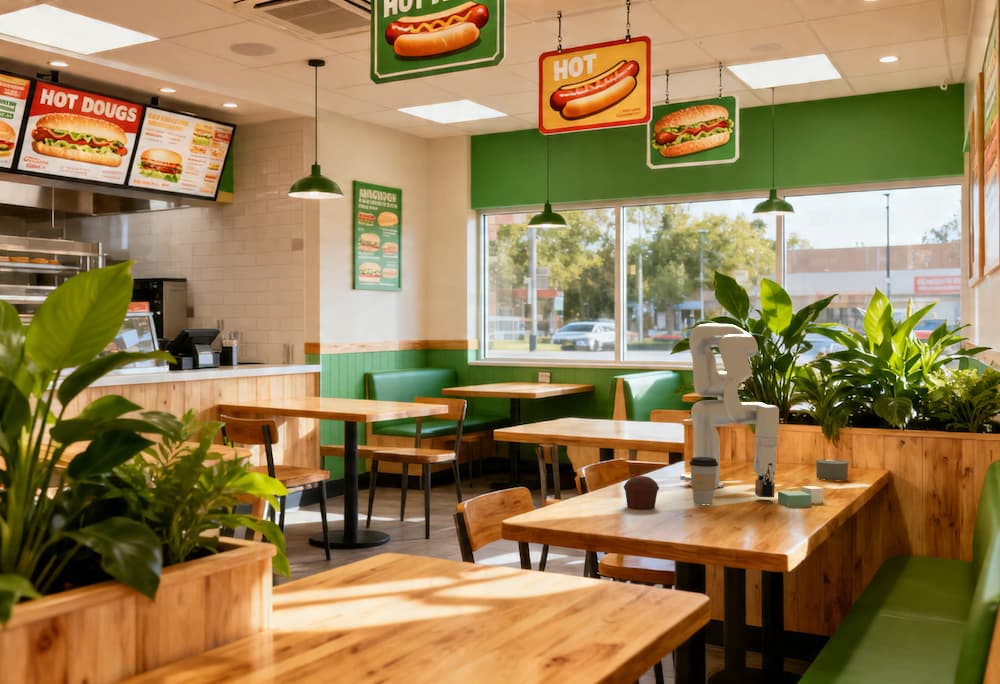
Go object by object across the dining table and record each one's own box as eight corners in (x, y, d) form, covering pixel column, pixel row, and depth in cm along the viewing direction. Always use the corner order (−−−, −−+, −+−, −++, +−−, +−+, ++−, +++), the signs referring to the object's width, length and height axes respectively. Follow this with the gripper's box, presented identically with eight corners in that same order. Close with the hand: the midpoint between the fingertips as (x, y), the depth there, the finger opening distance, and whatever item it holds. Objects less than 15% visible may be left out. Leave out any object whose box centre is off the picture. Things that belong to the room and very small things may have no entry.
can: (819, 480, 362) (819, 463, 362) (812, 476, 374) (813, 459, 374) (851, 481, 360) (852, 464, 360) (844, 477, 372) (844, 459, 372)
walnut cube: (759, 497, 316) (760, 482, 316) (755, 494, 321) (755, 479, 321) (774, 497, 316) (774, 482, 316) (769, 494, 321) (770, 479, 321)
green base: (787, 507, 307) (788, 495, 307) (777, 503, 315) (778, 491, 315) (811, 507, 308) (811, 495, 308) (800, 502, 316) (800, 490, 316)
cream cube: (810, 503, 313) (810, 488, 313) (801, 501, 318) (801, 486, 318) (823, 503, 315) (823, 488, 315) (814, 500, 319) (814, 485, 319)
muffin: (638, 512, 296) (638, 480, 296) (615, 506, 305) (616, 475, 305) (666, 508, 302) (666, 477, 302) (643, 503, 312) (644, 473, 311)
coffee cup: (686, 505, 308) (687, 459, 308) (691, 500, 317) (691, 456, 317) (715, 507, 305) (716, 461, 305) (719, 502, 314) (720, 457, 314)
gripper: (748, 437, 326) (746, 489, 327) (763, 445, 309) (761, 499, 310) (769, 438, 327) (767, 489, 327) (785, 445, 310) (783, 500, 310)
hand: (764, 494), depth 319 cm, fingers closed on walnut cube, 5 cm apart
